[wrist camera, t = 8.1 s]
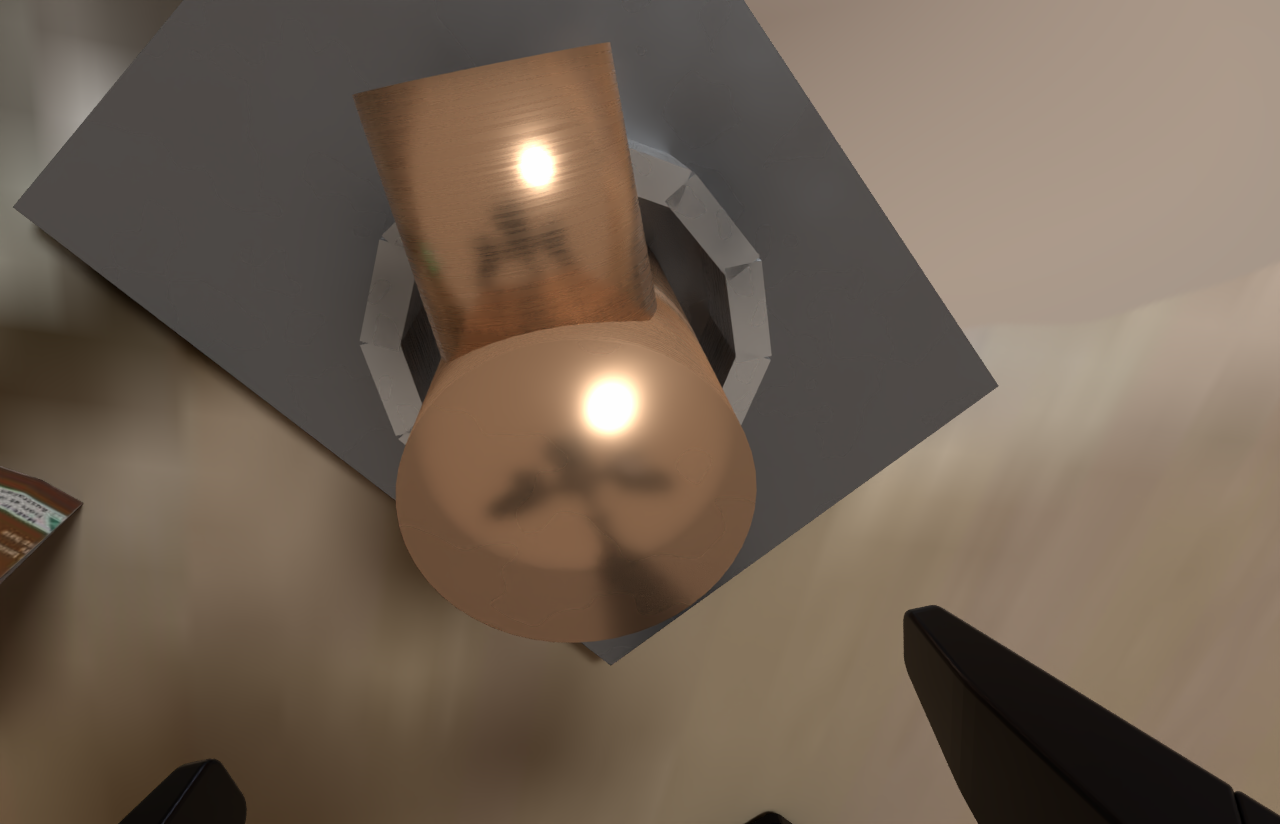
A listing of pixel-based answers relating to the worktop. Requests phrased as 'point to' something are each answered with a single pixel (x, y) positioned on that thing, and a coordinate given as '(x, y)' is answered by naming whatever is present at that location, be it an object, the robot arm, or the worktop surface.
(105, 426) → the worktop surface
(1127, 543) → the worktop surface
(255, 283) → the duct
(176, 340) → the worktop surface
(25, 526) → the food container
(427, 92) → the elbow
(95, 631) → the worktop surface
